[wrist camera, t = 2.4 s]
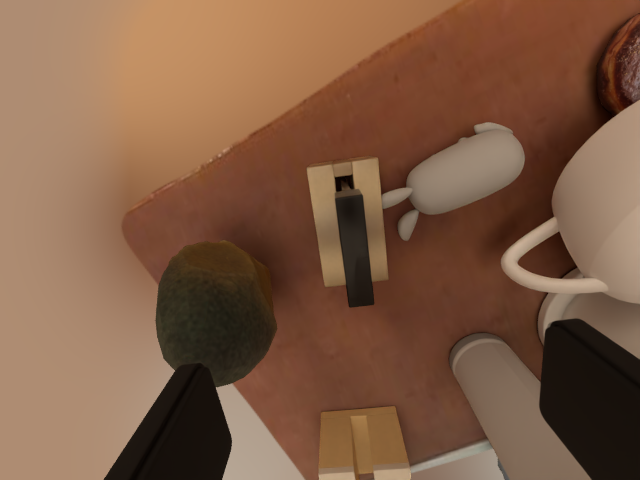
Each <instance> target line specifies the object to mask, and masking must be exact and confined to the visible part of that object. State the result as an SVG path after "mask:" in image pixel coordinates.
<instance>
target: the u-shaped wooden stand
mask: <svg viewBox="0 0 640 480" xmlns="http://www.w3.org/2000/svg"><path fill="white" fill-rule="evenodd" d="M365 473H374V479H375V480H411V472H410V466H409V462H408V457H407V453H406V449H405V445H404V441H403V437H402V433H401V428H400V424H399V420H398V416H397V412H396V408H395V406H388V407H376V408H364V409H352V410H340V411H328V412H321V427H320V451H319V479H320V480H359V474H365Z"/></svg>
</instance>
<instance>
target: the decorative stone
mask: <svg viewBox="0 0 640 480" xmlns="http://www.w3.org/2000/svg"><path fill="white" fill-rule="evenodd" d="M156 329H157V338H158V341H159V344H160V348H161V351H162V354H163V358H164V359H165V361H166V362H167V363H168V364H169V365H170V366H171V367H172V368H173V369H174V370H175V371H176V369H177V368H178V367H179V366H180V365H184V364H193V363H202V364H203V365H204V367H208V368H209V369H210V372H211V375H212V378H213V381H214V384H215V387H220V386H224V385H228V384H231V383H233V382H235V381H237V380H239V379H241V378H243V377H245V376H246V375H247V374H248V373H250V372H251V371H252V369H253V368H254V367H255V366H256V365H257V364H258V363H259V362H260V361H261V360H262V359H263V358H264V357H265V355H266V353H267V352H268V350H269V347H270V345H271V343H272V340H273V338H274V336H275V333H276V331H277V324H276V320H275V317H274V310H273V301H272V291H271V277H270V271H269V269H268V268H267V267H266V266H265V265H263V264H262V263H260V262H258V261H257V260H256V259H255V258H253V257H252V256H251V255H249V254H248V253H246V252H245V251H243V250H242V249H240V248H239V247H237V246H236V245H234V244H233V243H231V242H229V241H226V240H222V241H220V242H217V243H212V242H200V243H197V244H194V245H187V246H185V247H184V248H183V249H182V250H181V251H180V252H179V253H178V254H177V255H176V256H174V257H172V259H171V260H170V261H169V265H168V267H167V268H166V270H165V271H164V273H163V275H162V278H161V281H160V283H159V287H158V298H157V308H156Z"/></svg>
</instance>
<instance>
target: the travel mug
mask: <svg viewBox="0 0 640 480" xmlns="http://www.w3.org/2000/svg"><path fill="white" fill-rule="evenodd" d="M449 364H450V368H451V370H452V372H453V374H454V376H455V377H456V379H457V381H458V383H459V385H460V387H461V389H462V391H463V392H464V394H465V396H466V398H467V400H468V402H469V404H470V406H471V408H472V409H473V411H474V413H475V415H476V417H477V419H478V421H479V423H480V424H481V426H482V428H483V430H484V432H485V434H486V436H487V438H488V439H489V441H490V443H491V445H492V447H493V449H494V450H495V453H496V455H497V456H498V458H499V460H500V462H501V464H502V466H503V468H504V470H505V471H506V473H507V475H508V477H509V479H510V480H591V478H590V477H589V476H588V474H587V473H586V472H585V471H584V469H583V468H582V467H581V466H580V464H579V463H578V462H577V461H576V459H575V458H574V457H573V455H572V454H571V453H570V452H569V450H568V449H567V448H566V447H565V445H564V444H563V443H562V442H561V440H560V439H559V438H558V436H557V435H556V434H555V433H554V431H553V430H552V429H551V428H550V426H549V425H548V424H547V423H546V421H545V420H544V418H543V416H542V415H541V412H540V409H539V398H540V386H541V382H540V381H539V380H538V379H537V378H536V377H535V376H534V375H533V373H532V372H531V371H530V370H529V369H528V368H527V367H526V365H525V364H524V363H523V362H522V361H521V360H520V359H519V357H518V356H517V355H516V354H515V353H514V352H513V351H512V350H511V348H510V347H509V346H508V345H507V344H506V343H505V342H504V340H502V339H501V338H500V337H498V336H496V335H493V334H489V333H476V334H472V335H469V336H467V337H465V338H463V339H461V340H460V341H459V342H458V343H457V344H456V345H455V346H454V347H453V349H452V351H451V353H450V357H449Z"/></svg>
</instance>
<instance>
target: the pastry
mask: <svg viewBox="0 0 640 480" xmlns="http://www.w3.org/2000/svg"><path fill="white" fill-rule="evenodd" d="M597 94H598V96H599V99H600V101H601V103H602V105H603V107H604V108H605V109H606V110H607V111H608V112H610V113H611V114H612V115H614V116H616V115H617V114H619V113H620V112H621V111H623V110H624V109H626V108H627V107H629V106H631V105H632V104H634V103H635V102H637V101H639V100H640V13H638V14H637V15H635V16H634V17H632V18H630V19H629V20H627V21H626V23H625V24H624V25H623V26H622V27H621V28H620V29H619V30H618V31H617V32H616V33H615V34H614V35H613V36H612V38H611V40H610V42H609V44H608V45H607V47H606V49H605V51H604V53H603V55H602V56H601V58H600V60H599V62H598V64H597Z"/></svg>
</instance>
